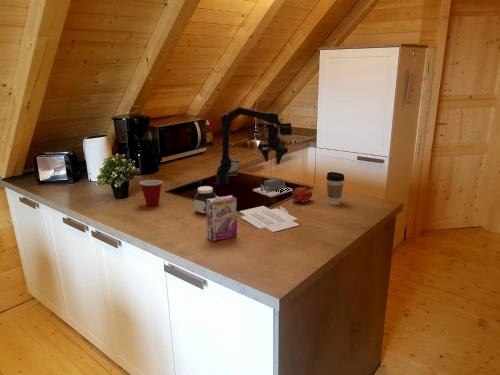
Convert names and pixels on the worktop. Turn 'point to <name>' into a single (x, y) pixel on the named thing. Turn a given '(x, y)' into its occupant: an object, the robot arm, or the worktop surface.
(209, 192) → the spread jar
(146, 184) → the plastic cup
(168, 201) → the worktop surface
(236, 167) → the food container
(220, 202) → the candy bar box
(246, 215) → the paper stack
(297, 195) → the dragon fruit
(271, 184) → the drive
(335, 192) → the coffee cup
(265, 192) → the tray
